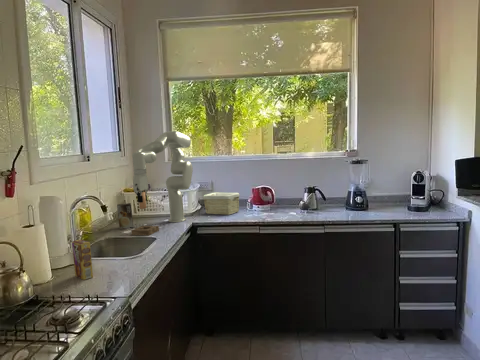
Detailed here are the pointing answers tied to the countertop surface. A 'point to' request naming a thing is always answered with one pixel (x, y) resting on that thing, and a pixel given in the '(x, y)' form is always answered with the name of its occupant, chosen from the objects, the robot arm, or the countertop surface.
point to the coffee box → (125, 215)
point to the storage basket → (221, 203)
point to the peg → (143, 204)
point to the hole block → (145, 230)
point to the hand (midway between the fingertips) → (142, 201)
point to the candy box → (82, 259)
